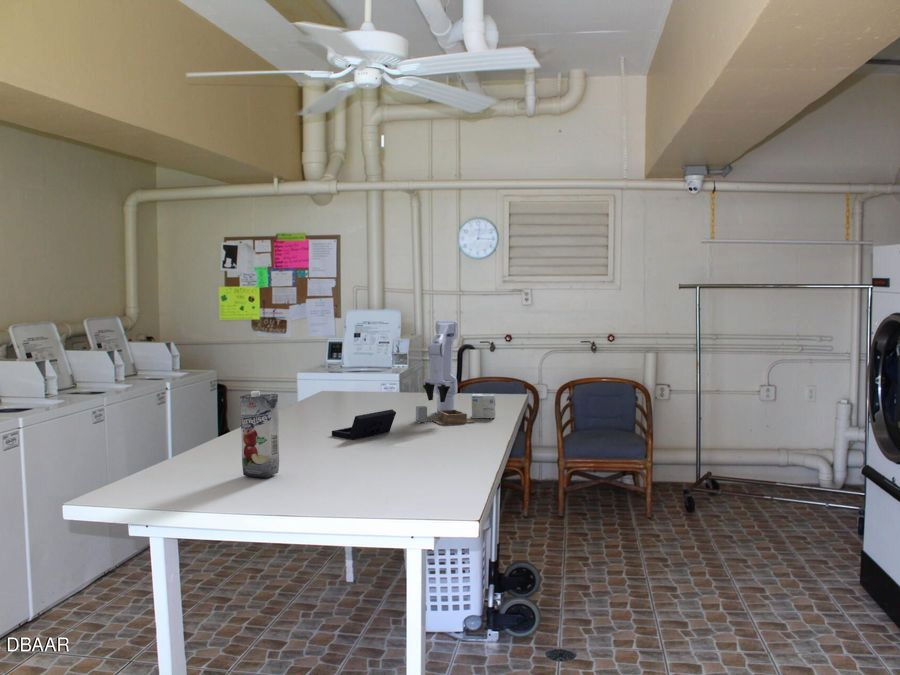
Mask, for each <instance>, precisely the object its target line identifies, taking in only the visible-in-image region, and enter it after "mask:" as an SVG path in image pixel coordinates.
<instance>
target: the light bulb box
mask: <svg viewBox="0 0 900 675" xmlns="http://www.w3.org/2000/svg"><path fill="white" fill-rule="evenodd" d="M472 418H491V419H490V420H493V419H492V418H496V393H472V395H471V419H472Z"/></svg>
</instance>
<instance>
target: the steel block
mask: <svg viewBox="0 0 900 675" xmlns="http://www.w3.org/2000/svg"><path fill="white" fill-rule="evenodd" d="M416 421H417V422H427V423H428V406H426V405H416V406H415V422H416ZM417 422H416V423H417Z"/></svg>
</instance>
